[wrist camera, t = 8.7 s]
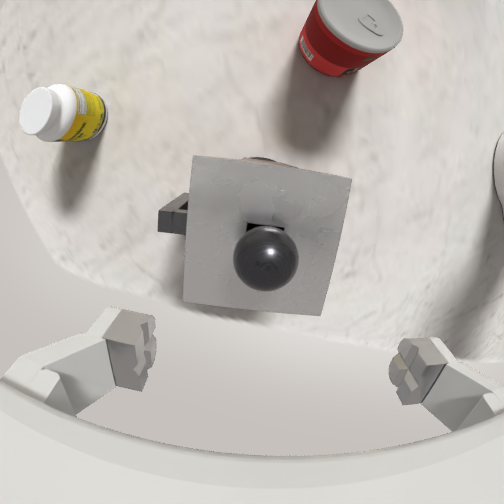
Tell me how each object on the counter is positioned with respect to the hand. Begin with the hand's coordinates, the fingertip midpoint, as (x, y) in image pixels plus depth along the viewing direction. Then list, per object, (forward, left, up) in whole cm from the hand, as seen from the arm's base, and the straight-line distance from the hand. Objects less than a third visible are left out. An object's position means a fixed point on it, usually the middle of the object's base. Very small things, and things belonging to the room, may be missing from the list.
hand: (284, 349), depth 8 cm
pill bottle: (+22, -9, -26) cm, 35 cm away
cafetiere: (+1, 0, -25) cm, 25 cm away
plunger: (0, 0, -23) cm, 23 cm away
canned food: (-6, -20, -26) cm, 33 cm away
